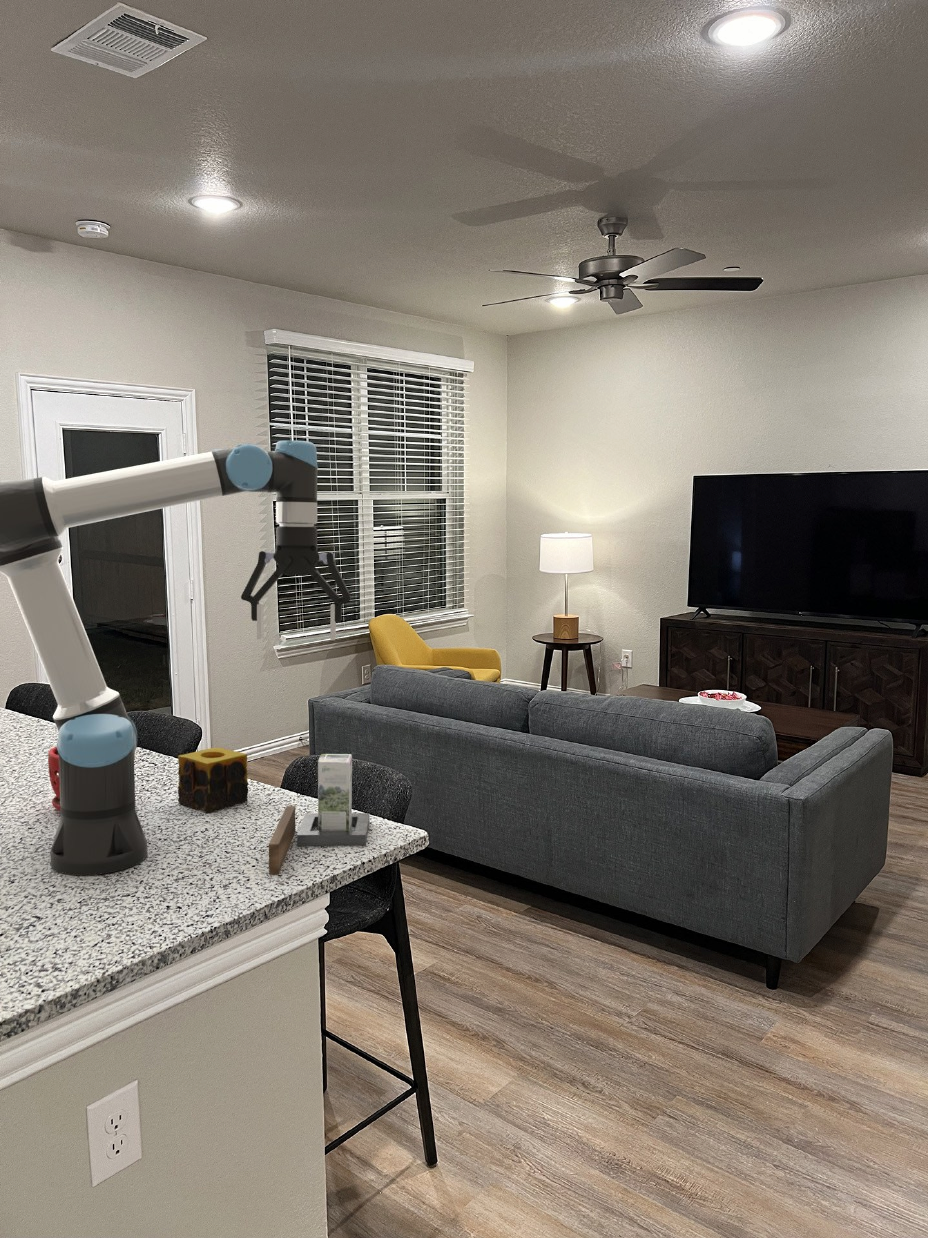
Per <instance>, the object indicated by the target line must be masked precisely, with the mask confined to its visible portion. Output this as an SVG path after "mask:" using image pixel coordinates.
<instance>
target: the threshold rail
mask: <svg viewBox="0 0 928 1238" xmlns="http://www.w3.org/2000/svg"><path fill="white" fill-rule="evenodd" d="M276 825H277V826H276V827H275V829H274V831H273V834H272V837H271V839H270V841H269V843H268V874H269V875H280V872H281V870H282V868H283V865H284V862H285V860H286V857H287V855H288V853H289V850H290V848H291V844H292V842H293V840H294V838H295V835H296V805H286V806H285V808H284V811H283V812H282V814H281V817H280V819H279V821H278V823H277V824H276ZM293 837H294V838H293Z"/></svg>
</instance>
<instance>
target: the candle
mask: <svg viewBox="0 0 928 1238" xmlns="http://www.w3.org/2000/svg"><path fill="white" fill-rule="evenodd" d="M177 759H178V784H177V785H178V786H177V787H178V788H177V795H178V798H177V801H178V804H179V805H181V806H185V807H187V808H191V809H195V810H198V811H202V812H204V813H207V814H211V813H214V812H217V811H221V810H225V809H227V808H233V807H234V806H237V805H241V804H244V803H247V802H248V800H249V799H248V794H249V787H248V785H249V782H248V769H247V768H248V754H246V753H244V752H240V751H235V750H230V749H226V748H222V747H219V746H217V747H211V748H210V747H209V748H207V749H201V750H198V751H194V752H189V753H184V754H179V755H178V756H177Z"/></svg>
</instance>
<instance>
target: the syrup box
mask: <svg viewBox="0 0 928 1238" xmlns="http://www.w3.org/2000/svg"><path fill="white" fill-rule="evenodd" d="M352 779H353V754H350V753H349V754H348V753H321V754H320V756H319V758H318V761H317V780H318V781H317V785H318V787H317V789H318V790H317V796H318V797H317V798H318V799H317V801H318V802H317V807H318V808H317V813H318V827H317V828H318V830H317V831H353V830H352V829H353V827H352V813H353V812H352V811H353V809H352V808H353V807H352V805H353V804H352V801H353V800H352V797H353V796H352V795H353V793H352V791H353V789H352V788H353V783H352V782H353V781H352Z"/></svg>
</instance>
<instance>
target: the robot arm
mask: <svg viewBox="0 0 928 1238" xmlns="http://www.w3.org/2000/svg"><path fill="white" fill-rule="evenodd" d="M317 453H318V452H317V447H316V445H315V444H314V443H313V442H311V441H306V440H279V441H277V442H276V444H275V448H274V450H270V451H269V450H268V451H266V450H265V449H263V448H262V447H261V446H258V445H257V444H251V443H243V444H238V445H237V446H234V447H228V448H224V449H212V450H211V451H209V452H203V453H197V454H193V455H192V454H191V455H187V456H181V457H176V458H170V459H166V460H161V461H155V462H150V463H145V464H140V465H139V464H138V465H134V466H128V467H123V468H117V469H113V470H107V471H102V472H96V473H92V474H91V473H90V474H86V475H80V476H74V477H71V478H70V477H69V478H65V479H60V480H53V479H51V478H48V477H47V476H40V477H35V478H27V479H15V480H4V479H3V480H0V574H2V575H4V576H5V577H6V578H7V580H8V584H9V586H10V588H11V591H12V593H13V596H14V599H15V601H16V602H17V606H18V608H19V611H20V613H21V616H22V619H23V621H24V624H25V626H26V628H27V631H28V632H29V633H28V634H29V635H30V638H31V641H32V643H33V646H34V648H35V651H36V654H37V656H38V658H39V661H40V663H41V666H42V668H43V670H44V674H45V676H46V678H47V681H48V683H49V686H50V688H51V690H52V694H53V696H54V698H55V700H56V701H55V702H56V703H57V707H56V709H55V711H54V714H53V716H52V719H53V721H54V724H55V727H56V729H57V731H58V733H57V734H58V737H57V740H56V746H57V750H58V753H59V774H58V776H59V780H60V811H59V812H60V819H59V822H58V825H57V827H56V832H55V835H54V837H53V841H52V845H51V848H50V852H49V853H50V854H49V855H50V856H49V858H50V867H51V868H52V869H53V870H54V871H56V872H59V873H62V874H65V875H66V874H67V875H75V876H95V875H103V874H110V873H114V872H119V871H122V870H126V869H130V868H131V867H135V866H136V865H138V864H140V863H141V862H142V861H144V860H146V858H147V856H148V839H147V837H146V835H145V832H144V829H143V826H142V824H141V822H140V819H139V817H138V814H137V810H136V784H135V781H136V779H135V757H136V750H137V746H138V731H137V727H136V725H135V722H134V720H132V719H131V717H130V716H129V715H128V712H127V710H126V708H125V704H124V703H123V700H122V697H121V694H120V693H119V691H116V690H114V689H111V688H110V687H108V685H107V683H106V681H105V678H104V675H103V673H102V671H101V668H100V666H99V663H98V660H97V658H96V655H95V653H94V650H93V647H92V645H91V642H90V639H89V637H88V635H87V631H86V630H85V626H84V624H83V622H82V619H81V615H80V614H79V612H78V608H77V606H76V603H75V600H74V599H73V596H72V593H71V591H70V588H69V585H68V583H67V581H66V577H65V576H64V572H63V571H62V567H61V564H60V563H59V562H60V561H59V559H60V556H61V554H62V553H63V551H64V546H63V545H62V542H61V539H60V536H62V535H63V534H64V532H65V531H66V530H67V529H68V528H73V527H77V526H79V527H80V526H82V525H88V524H93V523H97V522H102V521H106V520H107V521H108V520H112V519H116V518H122V517H128V516H130V515H136V514H141V513H145V512H150V511H156V510H160V509H166V508H171V507H176V506H180V505H185V504H189V503H195V502H200V501H205V500H209V499H215V498H219V497H223V496H231V495H236V494H241V493H270V494H271V493H275V494H276V499H275V501H276V502H275V523H276V524H279V526H277V528H276V529H275V531H276V532H275V534H276V535H275V536H276V538H275V551H274V552H269V551H266V550H262V551H261V550H260V551H259V552H258V558H257V564H256V566H255V568H254V570H253V572H252V574H251V576H250V577H249V580H248V582H247V583H246V586H245V588H244V590H243V591H242V594H241V596H240V598H241V600H242V601H246V602H248V603H250V607H251V608H250V611H251V612H250V615H251V617H250V618H251V621H252V622H256V639H257V640H262V639H264V637H265V636H264V632H265V631H264V602H263V603H262V602H261V600H262V599H263V598H264V596H265V595H266V594H267V593H268V591H269V590H270V589H271V588H272V587H274V585H275V583H276V582H277V581H278V580H279V579H281V577H282V576H283V574H284V575H286V576H288V577H290V576H300V577H305V576H307V575H310V576H311V578H312V579H314V581H315V582H316V584H318V586H320V588H321V589H322V590H323V591H324V593H325V594H326V595H327V596H328V597H329V598H330V600H331V601H332V602H333V603H332V604H330V623H329V624H330V637H329V638H330V641H335V640H336V638H337V630H336V629H337V623H341V621H342V616H343V614H342V613H343V609H342V608H343V607H342V606H343V604H345V603H348V602H350V601H351V600H352V595H351V593H350V591H349V588H348V587H347V585H346V583H345V580H344V579H343V577H342V575H341V573H340V570H339V569H338V567H337V565H336V562H335V561H336V560H335V554H334V552H333V551H329V552H326V553H325V552H324V553H320V552H319V551H318V529H317V527H315V525H316V524H318V469H319V466H318V455H317ZM272 559H273V560H274V562H275V563H276V564H277V566H278V567H277V568H276V569H275V571H273V573H272V574H271V576H270V577H269V578H268V579H267V580H266V581H265V583H263V585H262V586H261V587H260V588H259V589H258V590H257V592H256V593H255V594H254V595H253V592H254V590H255V587H256V586H257V584H258V582H259V579H260V578H261V576H262V574H263V572H264V569H265V568H266V565H267V564H269V563H270V562H271V561H272ZM320 560H321V561H322V563H323V564H324V565H327V567H328V570H329V571H330V574H331V575H332V578H333V580H334V583H336V586H337V588H338V590H339V591H340V594H341V596H339V594H338V593H337V592H336V591H335V589H334V588H333V587H332V586H331V584H329V582H328V581H327V580H326V579H325V578H324V576H323V575H322V574H321V573H320V571H319V570H318V569H317V568H316V565H317V564H318V562H319V561H320Z"/></svg>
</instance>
